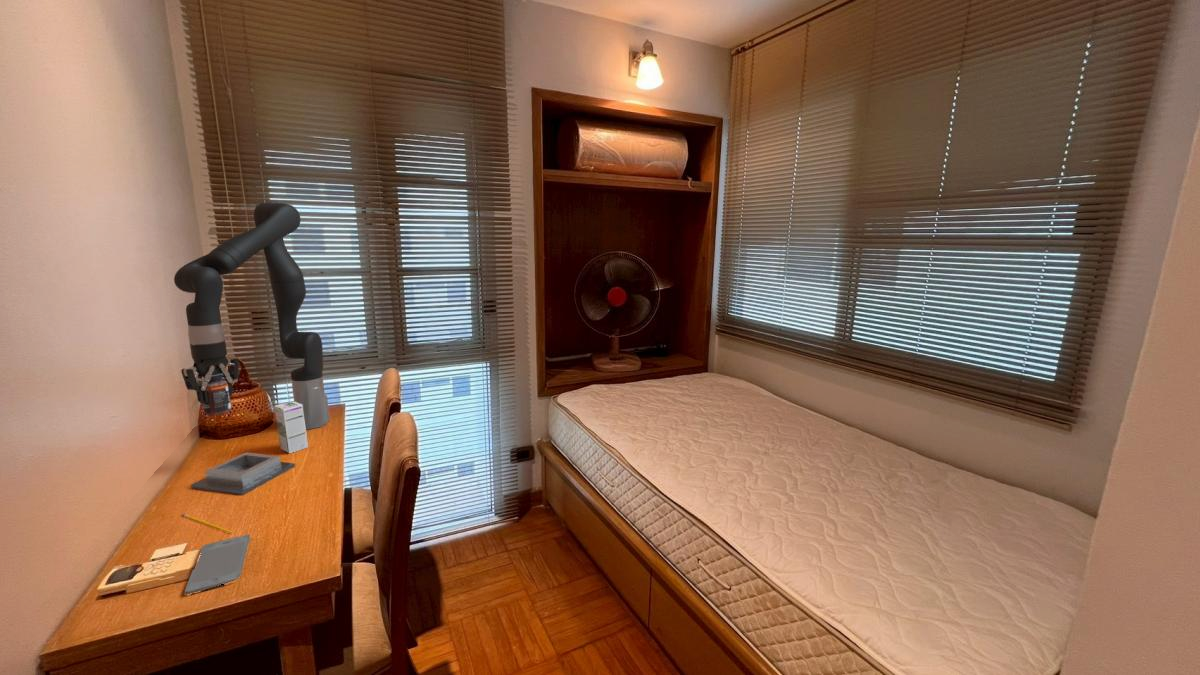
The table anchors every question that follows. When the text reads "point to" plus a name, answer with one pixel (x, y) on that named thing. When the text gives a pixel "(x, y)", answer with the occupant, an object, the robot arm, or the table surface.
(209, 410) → the supplement bottle
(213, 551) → the phone
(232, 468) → the socket
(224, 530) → the pencil
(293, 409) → the syrup box
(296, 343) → the robot arm
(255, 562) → the table surface
